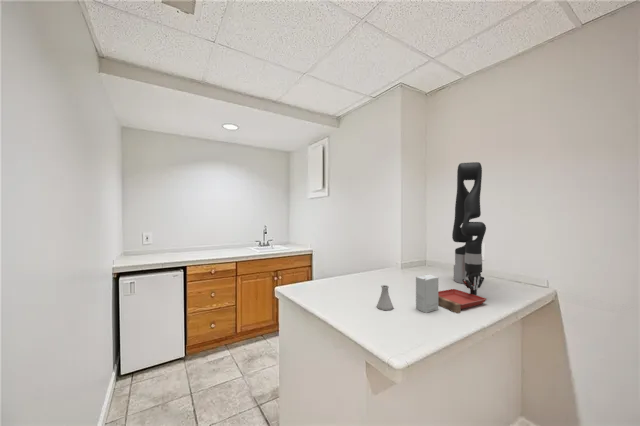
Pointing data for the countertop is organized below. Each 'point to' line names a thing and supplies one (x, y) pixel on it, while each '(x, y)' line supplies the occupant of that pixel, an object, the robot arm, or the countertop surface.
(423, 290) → the skincare box
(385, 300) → the flask
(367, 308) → the countertop surface
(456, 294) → the plant saucer
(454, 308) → the bar
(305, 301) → the countertop surface
